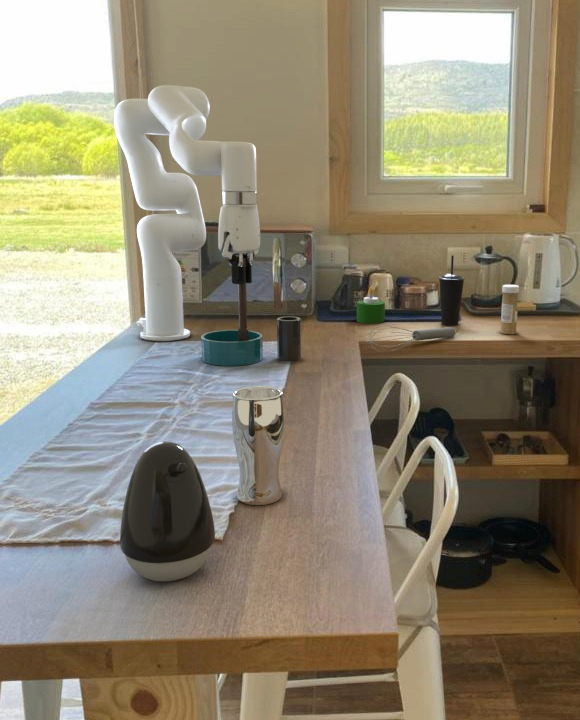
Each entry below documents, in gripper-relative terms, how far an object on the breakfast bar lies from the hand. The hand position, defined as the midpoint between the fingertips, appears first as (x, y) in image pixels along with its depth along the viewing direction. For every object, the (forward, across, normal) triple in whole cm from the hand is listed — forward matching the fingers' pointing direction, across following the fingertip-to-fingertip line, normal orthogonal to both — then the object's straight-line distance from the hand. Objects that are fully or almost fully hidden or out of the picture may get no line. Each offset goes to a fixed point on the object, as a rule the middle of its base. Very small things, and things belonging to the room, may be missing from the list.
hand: (241, 282), depth 181 cm
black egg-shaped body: (+19, +84, +50) cm, 99 cm away
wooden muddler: (+15, 0, 0) cm, 15 cm away
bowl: (+19, 0, -3) cm, 19 cm away
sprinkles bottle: (+19, -65, +43) cm, 80 cm away
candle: (+19, -61, +2) cm, 64 cm away
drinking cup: (+19, -69, +24) cm, 75 cm away
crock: (+19, -7, +8) cm, 21 cm away
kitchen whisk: (+19, -38, +26) cm, 50 cm away
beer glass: (+19, +62, +47) cm, 80 cm away
